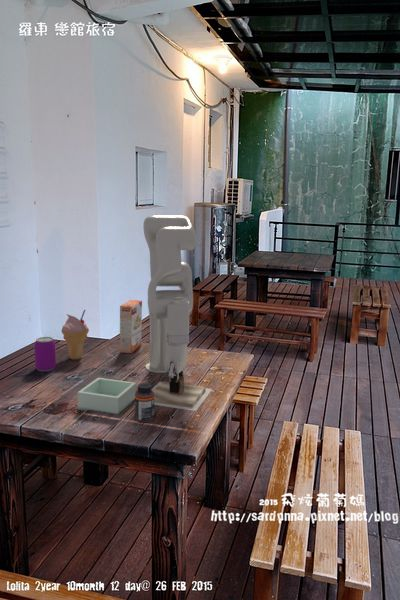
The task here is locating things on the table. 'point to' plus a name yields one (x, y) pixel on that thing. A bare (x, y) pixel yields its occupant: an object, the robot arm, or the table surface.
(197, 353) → the table surface
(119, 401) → the mint green open box
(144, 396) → the supplement bottle
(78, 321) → the ice cream cone
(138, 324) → the cracker box
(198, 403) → the mat
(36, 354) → the beverage can
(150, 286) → the robot arm
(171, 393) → the cover
